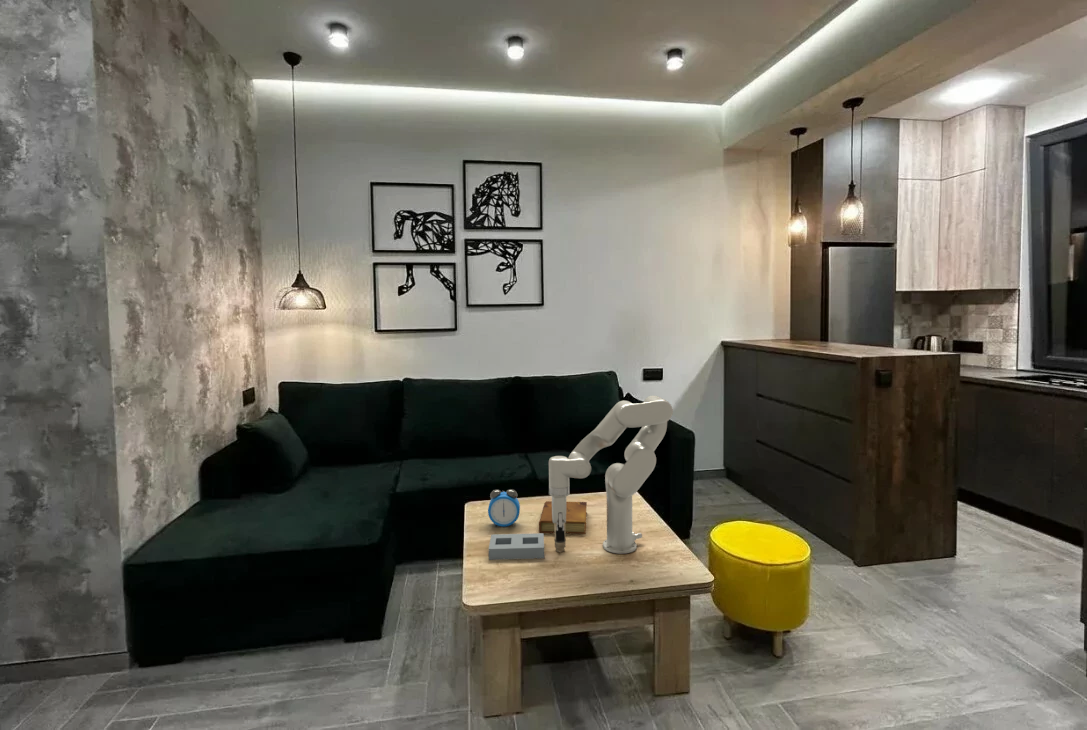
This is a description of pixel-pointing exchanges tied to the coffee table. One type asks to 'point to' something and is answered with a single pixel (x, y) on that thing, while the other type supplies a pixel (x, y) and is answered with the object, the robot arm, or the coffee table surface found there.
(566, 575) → the coffee table surface
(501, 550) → the board
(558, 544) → the dowel
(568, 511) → the diary
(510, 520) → the alarm clock
